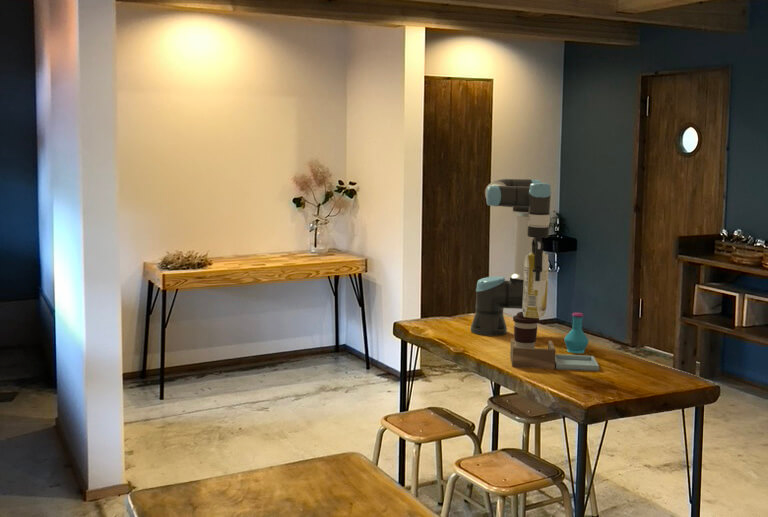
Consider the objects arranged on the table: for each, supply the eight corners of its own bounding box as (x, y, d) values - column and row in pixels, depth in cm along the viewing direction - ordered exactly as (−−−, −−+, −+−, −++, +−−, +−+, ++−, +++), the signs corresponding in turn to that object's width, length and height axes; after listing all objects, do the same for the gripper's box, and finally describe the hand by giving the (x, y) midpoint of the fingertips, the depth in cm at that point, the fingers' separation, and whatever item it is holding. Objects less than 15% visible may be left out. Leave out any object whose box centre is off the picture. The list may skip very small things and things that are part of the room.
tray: (552, 359, 321) (552, 354, 321) (593, 361, 320) (593, 355, 319) (556, 369, 307) (556, 363, 307) (598, 371, 306) (599, 365, 306)
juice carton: (542, 319, 307) (546, 253, 304) (520, 317, 310) (523, 251, 307) (547, 314, 316) (550, 250, 313) (525, 312, 319) (528, 248, 315)
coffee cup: (537, 355, 326) (539, 316, 324) (510, 353, 328) (512, 315, 326) (537, 349, 336) (539, 311, 334) (512, 347, 338) (514, 310, 336)
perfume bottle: (559, 350, 334) (561, 313, 332) (571, 347, 341) (573, 309, 339) (580, 355, 328) (582, 316, 326) (592, 351, 335) (594, 313, 333)
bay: (510, 356, 323) (511, 338, 322) (550, 358, 322) (551, 340, 321) (512, 367, 309) (513, 348, 308) (554, 369, 308) (555, 349, 307)
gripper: (525, 222, 320) (522, 281, 323) (530, 229, 297) (527, 292, 301) (546, 223, 319) (543, 282, 322) (552, 229, 297) (548, 293, 300)
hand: (535, 287), depth 312 cm, fingers closed on juice carton, 10 cm apart
